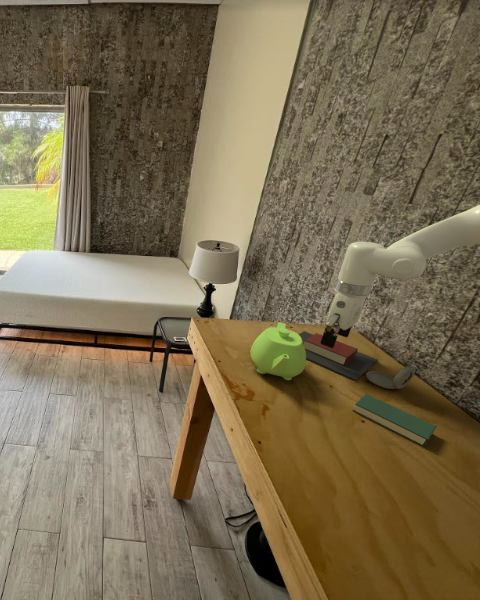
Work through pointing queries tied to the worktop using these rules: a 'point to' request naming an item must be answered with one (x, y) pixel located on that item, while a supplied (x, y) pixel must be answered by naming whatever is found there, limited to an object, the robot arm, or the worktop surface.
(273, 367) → the teapot
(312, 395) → the worktop surface
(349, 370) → the felt mat
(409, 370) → the pocket watch
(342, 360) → the top book
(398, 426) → the bottom book
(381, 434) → the worktop surface
